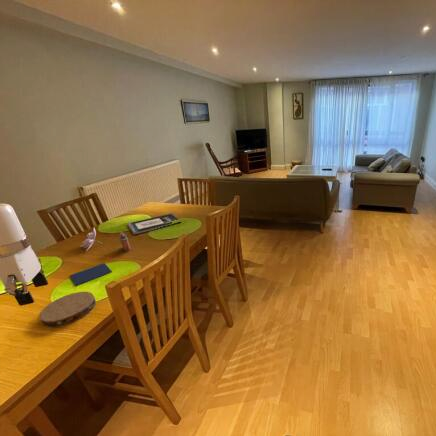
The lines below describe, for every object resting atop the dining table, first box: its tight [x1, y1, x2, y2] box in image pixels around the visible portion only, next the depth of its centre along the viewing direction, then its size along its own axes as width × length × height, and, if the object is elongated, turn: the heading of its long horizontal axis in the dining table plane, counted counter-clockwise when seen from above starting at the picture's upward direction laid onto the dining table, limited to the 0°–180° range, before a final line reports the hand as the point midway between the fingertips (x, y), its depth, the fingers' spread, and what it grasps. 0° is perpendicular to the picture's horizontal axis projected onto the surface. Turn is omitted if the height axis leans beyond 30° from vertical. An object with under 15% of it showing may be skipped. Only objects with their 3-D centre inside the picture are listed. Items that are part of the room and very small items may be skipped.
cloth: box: [69, 262, 113, 287], centre depth 116 cm, size 14×12×1 cm
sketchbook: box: [126, 213, 179, 235], centre depth 171 cm, size 22×30×2 cm
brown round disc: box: [38, 291, 97, 328], centre depth 93 cm, size 16×16×3 cm
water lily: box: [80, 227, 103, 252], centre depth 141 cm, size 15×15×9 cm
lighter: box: [119, 231, 132, 253], centre depth 137 cm, size 8×3×10 cm, turn 45°
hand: (35, 294), depth 76 cm, fingers open, 8 cm apart
